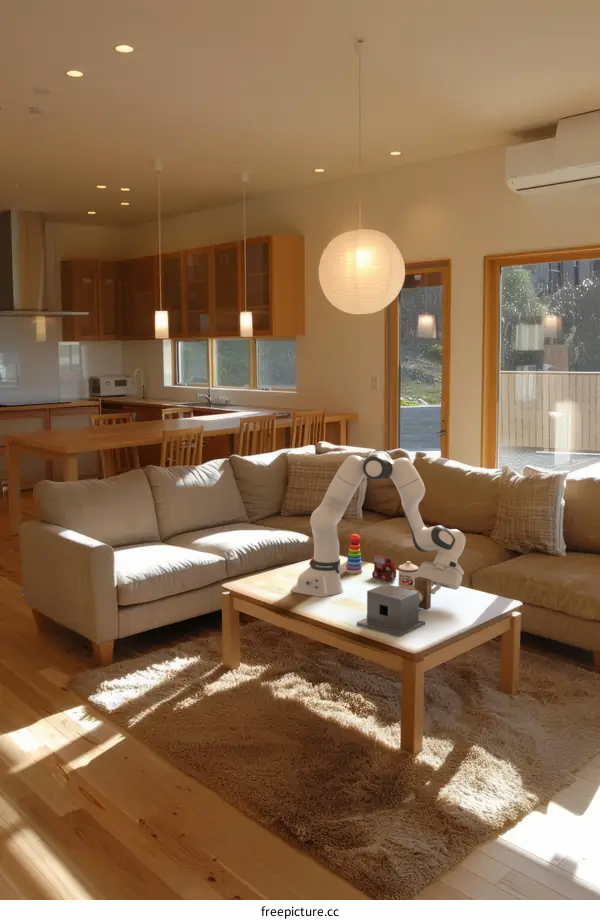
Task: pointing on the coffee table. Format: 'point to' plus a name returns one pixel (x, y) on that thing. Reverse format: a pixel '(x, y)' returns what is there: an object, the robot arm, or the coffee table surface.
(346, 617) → the coffee table surface
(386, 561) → the toy fire truck
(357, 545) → the stacking toy
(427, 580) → the shaft
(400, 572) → the teacup with lid
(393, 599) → the bearing block
